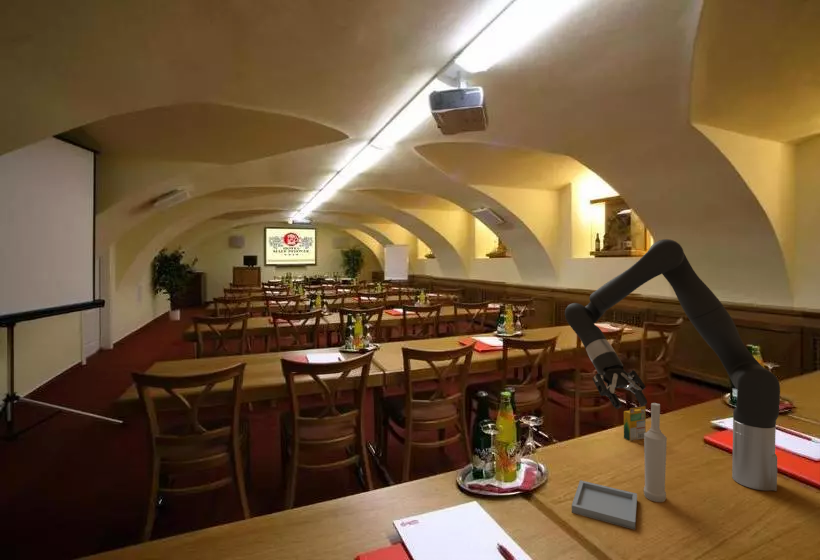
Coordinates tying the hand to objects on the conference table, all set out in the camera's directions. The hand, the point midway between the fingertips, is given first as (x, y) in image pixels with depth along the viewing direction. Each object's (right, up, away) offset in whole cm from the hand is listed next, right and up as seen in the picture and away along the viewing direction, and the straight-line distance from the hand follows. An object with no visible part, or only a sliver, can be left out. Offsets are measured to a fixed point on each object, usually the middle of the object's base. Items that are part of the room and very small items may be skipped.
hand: (632, 406), depth 117 cm
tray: (-13, -22, -11) cm, 28 cm away
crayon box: (+17, -21, +30) cm, 41 cm away
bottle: (+2, -22, -7) cm, 23 cm away
